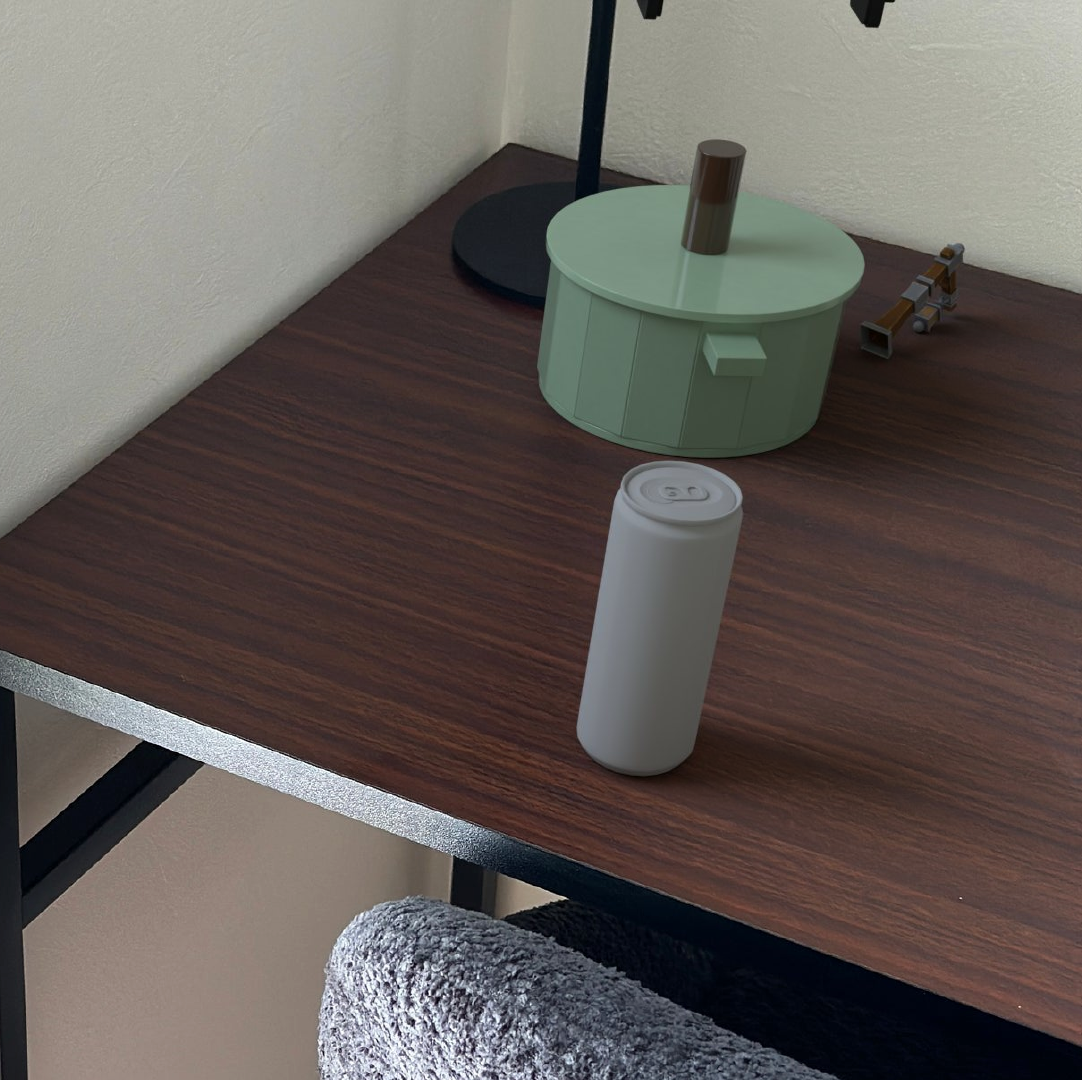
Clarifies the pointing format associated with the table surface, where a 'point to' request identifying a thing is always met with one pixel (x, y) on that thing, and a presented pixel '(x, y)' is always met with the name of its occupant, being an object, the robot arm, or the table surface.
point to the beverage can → (658, 615)
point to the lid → (705, 248)
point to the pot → (682, 375)
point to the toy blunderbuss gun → (917, 303)
